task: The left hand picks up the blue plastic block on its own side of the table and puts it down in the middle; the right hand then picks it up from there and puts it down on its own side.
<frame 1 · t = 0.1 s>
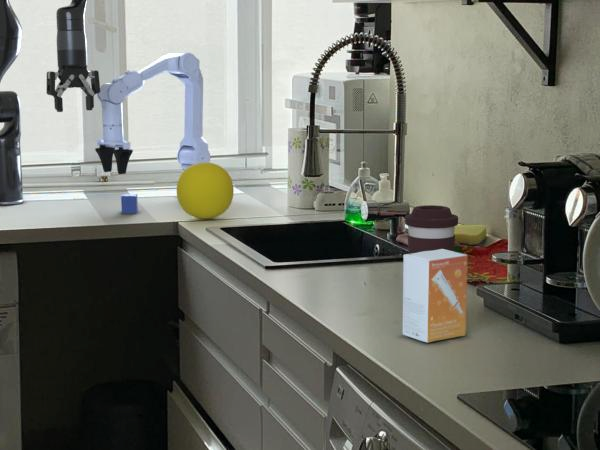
left hand: (74, 111, 273), 29 cm above the worktop, tool pointing down, fingers open, 8 cm apart
right hand: (114, 172, 300), 10 cm above the worktop, tool pointing down, fingers open, 7 cm apart
coffee cup: (430, 287, 198), on the worktop
block: (129, 212, 292), on the worktop
toy: (205, 219, 280), on the worktop
small box: (434, 336, 164), on the worktop
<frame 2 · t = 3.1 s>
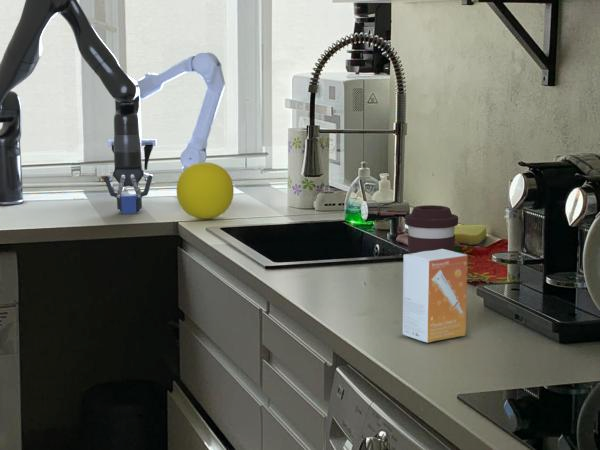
left hand: (129, 210, 292), 0 cm above the worktop, tool pointing down, fingers closed on block, 4 cm apart
right hand: (133, 169, 321), 9 cm above the worktop, tool pointing down, fingers open, 7 cm apart
block: (129, 212, 292), on the worktop, touching left hand
everything else where it was.
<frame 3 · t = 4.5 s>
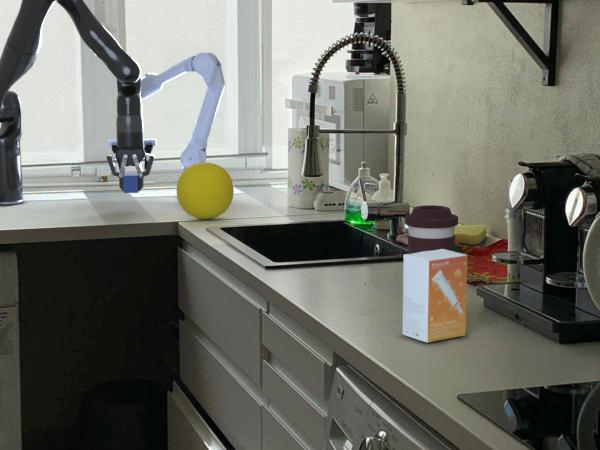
left hand: (131, 190, 298), 5 cm above the worktop, tool pointing down, fingers closed on block, 4 cm apart
right hand: (133, 169, 321), 9 cm above the worktop, tool pointing down, fingers open, 7 cm apart
block: (131, 191, 298), point 5 cm above the worktop, touching left hand
everything else where it was.
when the left hand's fingers open (1 cm above the worktop, at t = 6.0 s): block stays where it is, on the worktop.
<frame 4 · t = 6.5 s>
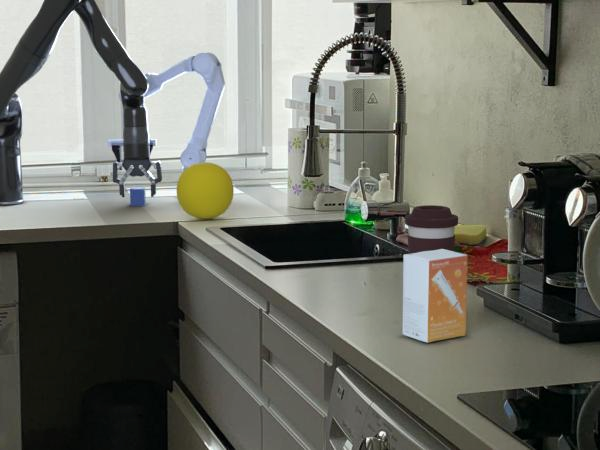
left hand: (138, 196, 306), 2 cm above the worktop, tool pointing down, fingers open, 8 cm apart
right hand: (133, 169, 321), 9 cm above the worktop, tool pointing down, fingers open, 7 cm apart
block: (138, 204, 307), on the worktop
everything else where it was.
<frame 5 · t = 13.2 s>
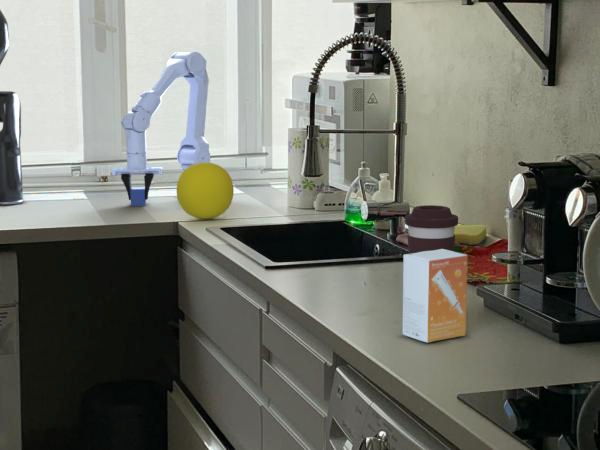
right hand: (138, 199, 307), 2 cm above the worktop, tool pointing down, fingers closed on block, 4 cm apart
block: (138, 204, 307), on the worktop, touching right hand
everything else where it was.
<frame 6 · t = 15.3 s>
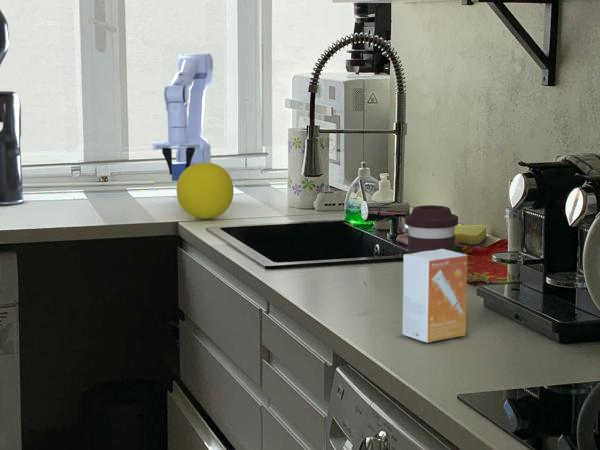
right hand: (179, 174, 301), 9 cm above the worktop, tool pointing down, fingers closed on block, 4 cm apart
block: (179, 179, 301), point 8 cm above the worktop, touching right hand
everything else where it was.
when the right hand's fingers open (3 cm above the worktop, at t = 17.8 s): block stays where it is, on the worktop.
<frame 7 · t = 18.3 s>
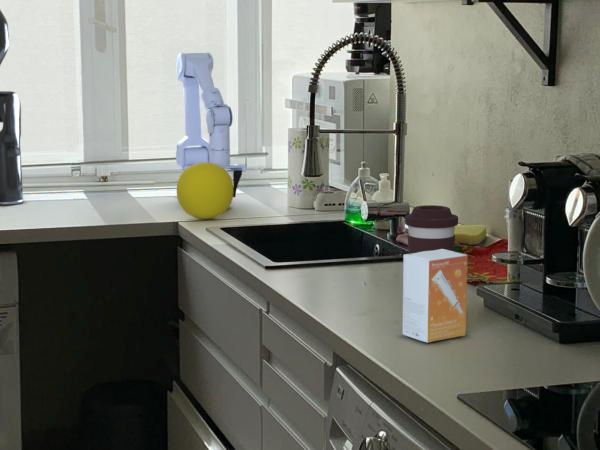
right hand: (220, 197, 298), 3 cm above the worktop, tool pointing down, fingers open, 7 cm apart
block: (221, 208, 298), on the worktop
everything else where it was.
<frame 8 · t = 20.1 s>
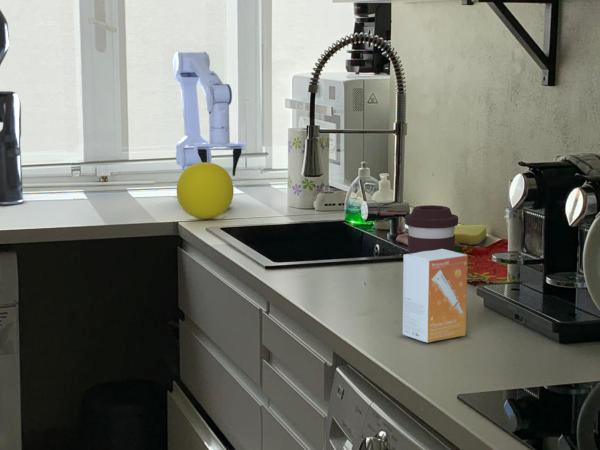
right hand: (220, 175, 297), 9 cm above the worktop, tool pointing down, fingers open, 7 cm apart
nothing on the worktop moved.
at the end: block inside the target area (0.1 cm from its centre), on the worktop; block tilted 0°; the two hands never held the block at the same time; the left hand is holding nothing; the right hand is holding nothing; block at rest at the end (0.0 cm/s) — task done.
